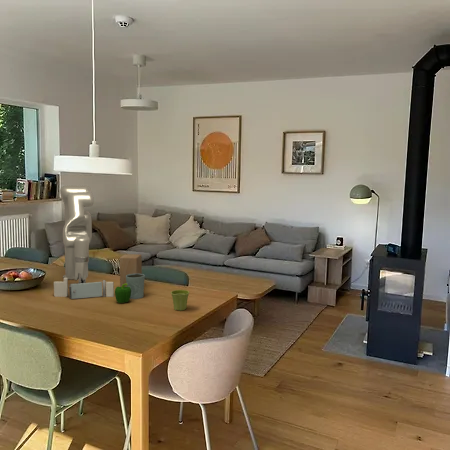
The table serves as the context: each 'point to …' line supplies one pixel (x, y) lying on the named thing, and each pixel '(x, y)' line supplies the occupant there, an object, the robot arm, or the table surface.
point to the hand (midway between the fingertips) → (82, 291)
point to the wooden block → (129, 266)
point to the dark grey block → (70, 291)
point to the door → (86, 290)
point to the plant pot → (180, 299)
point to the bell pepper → (122, 294)
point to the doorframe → (62, 288)
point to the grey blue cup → (136, 285)
